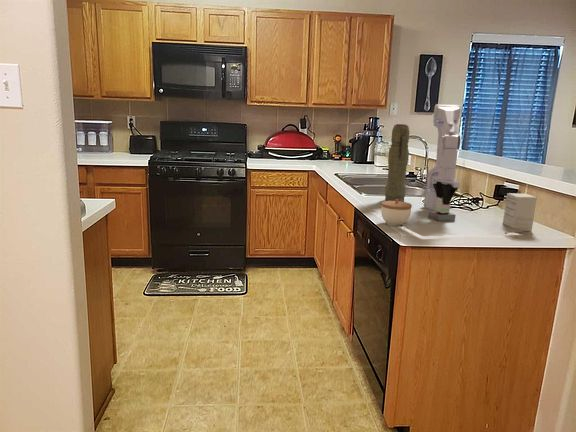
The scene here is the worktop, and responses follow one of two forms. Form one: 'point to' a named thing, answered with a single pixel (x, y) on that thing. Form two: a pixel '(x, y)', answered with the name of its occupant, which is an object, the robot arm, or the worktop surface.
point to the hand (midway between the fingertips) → (443, 203)
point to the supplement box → (519, 211)
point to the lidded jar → (395, 212)
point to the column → (441, 206)
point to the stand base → (441, 216)
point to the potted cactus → (397, 163)
